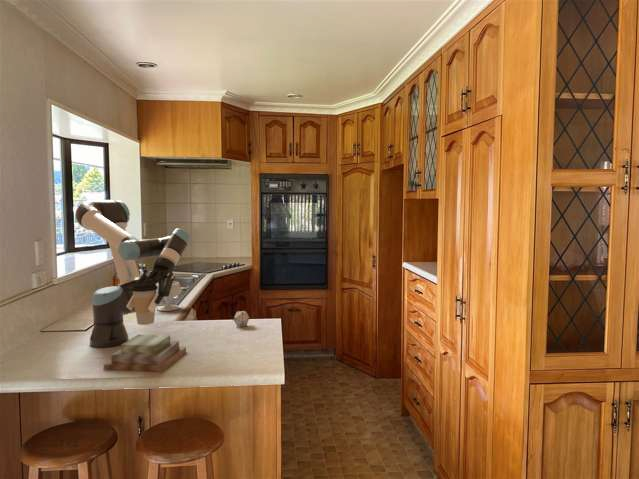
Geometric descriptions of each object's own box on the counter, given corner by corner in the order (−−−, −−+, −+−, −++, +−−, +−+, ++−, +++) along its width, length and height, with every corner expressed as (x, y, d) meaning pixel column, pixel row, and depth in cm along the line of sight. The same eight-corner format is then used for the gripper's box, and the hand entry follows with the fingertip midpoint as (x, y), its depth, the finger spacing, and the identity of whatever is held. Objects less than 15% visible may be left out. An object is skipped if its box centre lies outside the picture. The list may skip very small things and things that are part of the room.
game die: (244, 335, 224) (245, 322, 217) (228, 328, 225) (229, 314, 218) (252, 322, 230) (254, 309, 224) (237, 315, 232) (239, 302, 225)
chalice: (150, 309, 260) (149, 282, 259) (172, 305, 271) (171, 279, 270) (164, 313, 251) (163, 285, 250) (186, 308, 262) (185, 282, 261)
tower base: (103, 369, 168) (102, 348, 167) (134, 350, 190) (133, 331, 189) (161, 372, 166) (161, 350, 165) (186, 352, 187) (185, 332, 187)
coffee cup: (137, 320, 181) (135, 281, 179) (161, 319, 182) (160, 281, 180) (129, 326, 171) (127, 286, 170) (155, 325, 172) (154, 286, 171)
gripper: (193, 269, 185) (168, 317, 172) (149, 266, 193) (122, 312, 180) (185, 257, 180) (158, 306, 166) (139, 255, 188) (110, 301, 174)
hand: (139, 309), depth 173 cm, fingers closed on coffee cup, 9 cm apart
